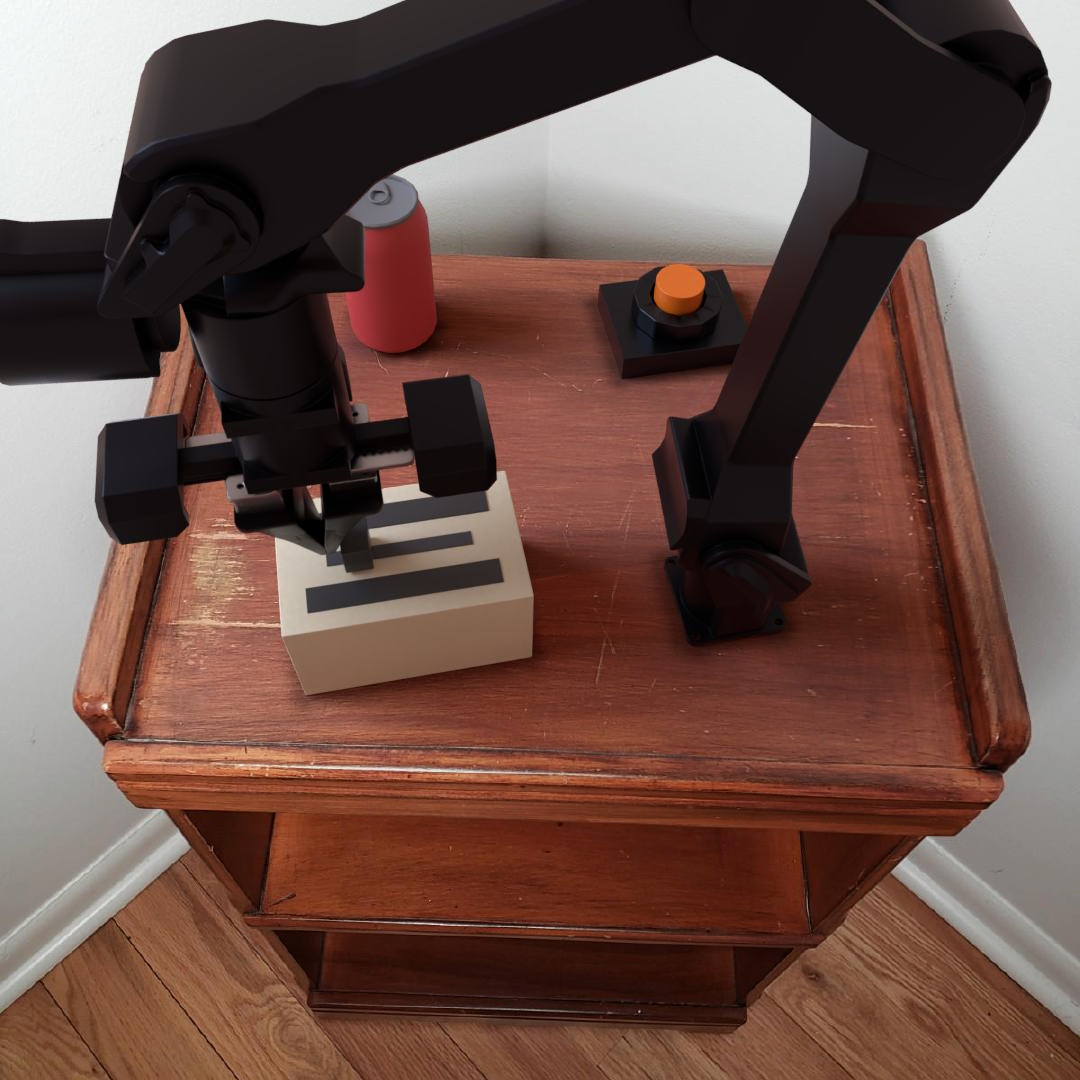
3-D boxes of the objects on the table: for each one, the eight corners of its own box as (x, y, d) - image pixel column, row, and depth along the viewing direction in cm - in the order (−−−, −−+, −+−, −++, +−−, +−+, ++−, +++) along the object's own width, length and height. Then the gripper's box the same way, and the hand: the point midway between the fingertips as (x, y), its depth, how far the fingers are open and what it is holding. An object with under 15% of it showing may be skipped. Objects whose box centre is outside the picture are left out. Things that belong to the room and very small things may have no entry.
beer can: (440, 297, 80) (430, 168, 70) (434, 359, 77) (421, 232, 67) (357, 295, 80) (335, 165, 70) (347, 356, 77) (322, 228, 67)
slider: (374, 569, 57) (370, 550, 56) (346, 573, 57) (340, 554, 56) (369, 534, 59) (365, 514, 57) (342, 538, 58) (337, 519, 57)
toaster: (532, 657, 63) (534, 595, 57) (305, 695, 61) (281, 636, 55) (506, 538, 68) (505, 469, 62) (295, 571, 66) (272, 503, 60)
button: (707, 312, 75) (711, 294, 74) (660, 318, 75) (663, 300, 73) (694, 279, 77) (697, 261, 76) (648, 285, 77) (650, 267, 75)
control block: (748, 362, 77) (759, 324, 74) (621, 379, 76) (626, 341, 73) (718, 290, 82) (726, 250, 78) (597, 305, 80) (600, 266, 77)
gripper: (456, 206, 49) (469, 415, 62) (57, 251, 47) (157, 459, 60) (496, 374, 43) (501, 567, 56) (40, 436, 41) (156, 622, 54)
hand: (327, 547), depth 57 cm, fingers closed
